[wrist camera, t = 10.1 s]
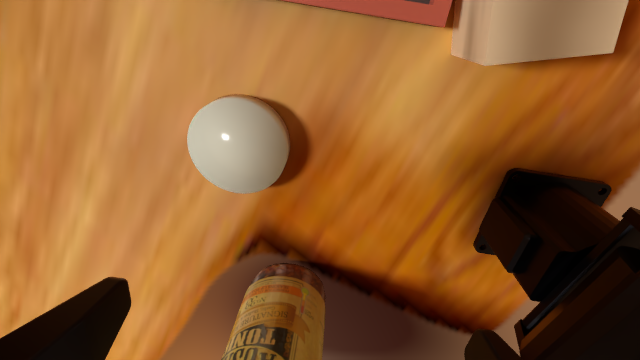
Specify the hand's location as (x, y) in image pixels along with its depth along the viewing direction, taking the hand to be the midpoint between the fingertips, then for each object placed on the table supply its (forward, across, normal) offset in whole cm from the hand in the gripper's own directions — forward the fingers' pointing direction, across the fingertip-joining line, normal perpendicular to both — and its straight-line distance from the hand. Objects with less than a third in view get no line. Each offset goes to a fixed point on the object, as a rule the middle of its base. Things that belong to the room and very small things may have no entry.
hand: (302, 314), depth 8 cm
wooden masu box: (+13, -8, -9) cm, 18 cm away
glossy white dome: (+13, +5, +1) cm, 14 cm away
